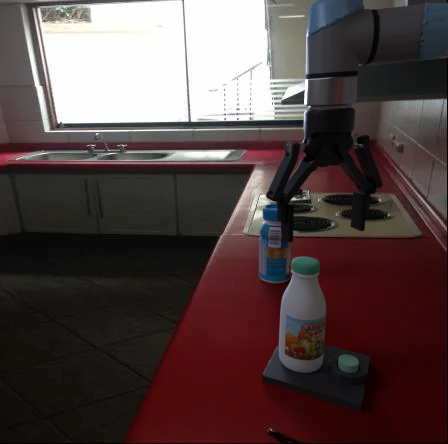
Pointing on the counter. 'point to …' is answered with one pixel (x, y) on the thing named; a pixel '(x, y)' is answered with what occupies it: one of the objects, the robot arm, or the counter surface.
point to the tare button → (348, 363)
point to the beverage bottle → (273, 249)
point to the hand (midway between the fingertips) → (322, 234)
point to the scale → (323, 378)
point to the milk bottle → (303, 318)
